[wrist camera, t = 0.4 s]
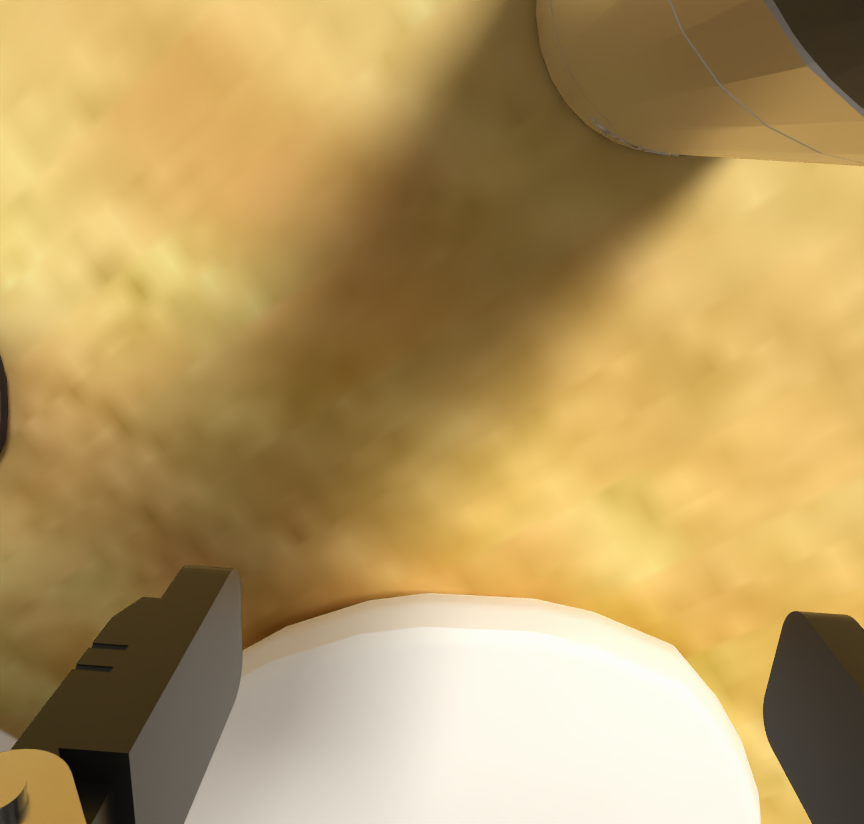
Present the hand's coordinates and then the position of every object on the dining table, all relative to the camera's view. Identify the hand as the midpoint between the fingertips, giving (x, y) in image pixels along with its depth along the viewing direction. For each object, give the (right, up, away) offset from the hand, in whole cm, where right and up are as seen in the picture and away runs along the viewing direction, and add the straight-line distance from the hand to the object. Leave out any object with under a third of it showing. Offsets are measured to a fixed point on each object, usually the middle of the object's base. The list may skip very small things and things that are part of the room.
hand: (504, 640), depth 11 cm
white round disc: (0, -15, +25) cm, 29 cm away
